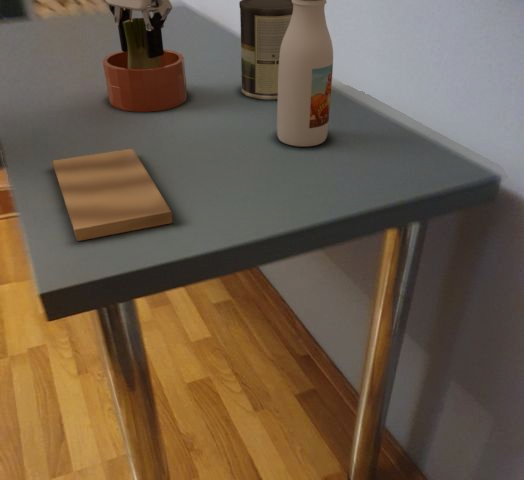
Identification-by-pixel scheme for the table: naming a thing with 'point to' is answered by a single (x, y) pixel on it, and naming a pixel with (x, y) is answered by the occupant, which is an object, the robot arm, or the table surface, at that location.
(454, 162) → the table surface
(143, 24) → the fennel bulb
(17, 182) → the table surface
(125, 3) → the robot arm
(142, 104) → the pot
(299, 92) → the milk bottle
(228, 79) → the table surface
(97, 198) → the board
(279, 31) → the coffee can
